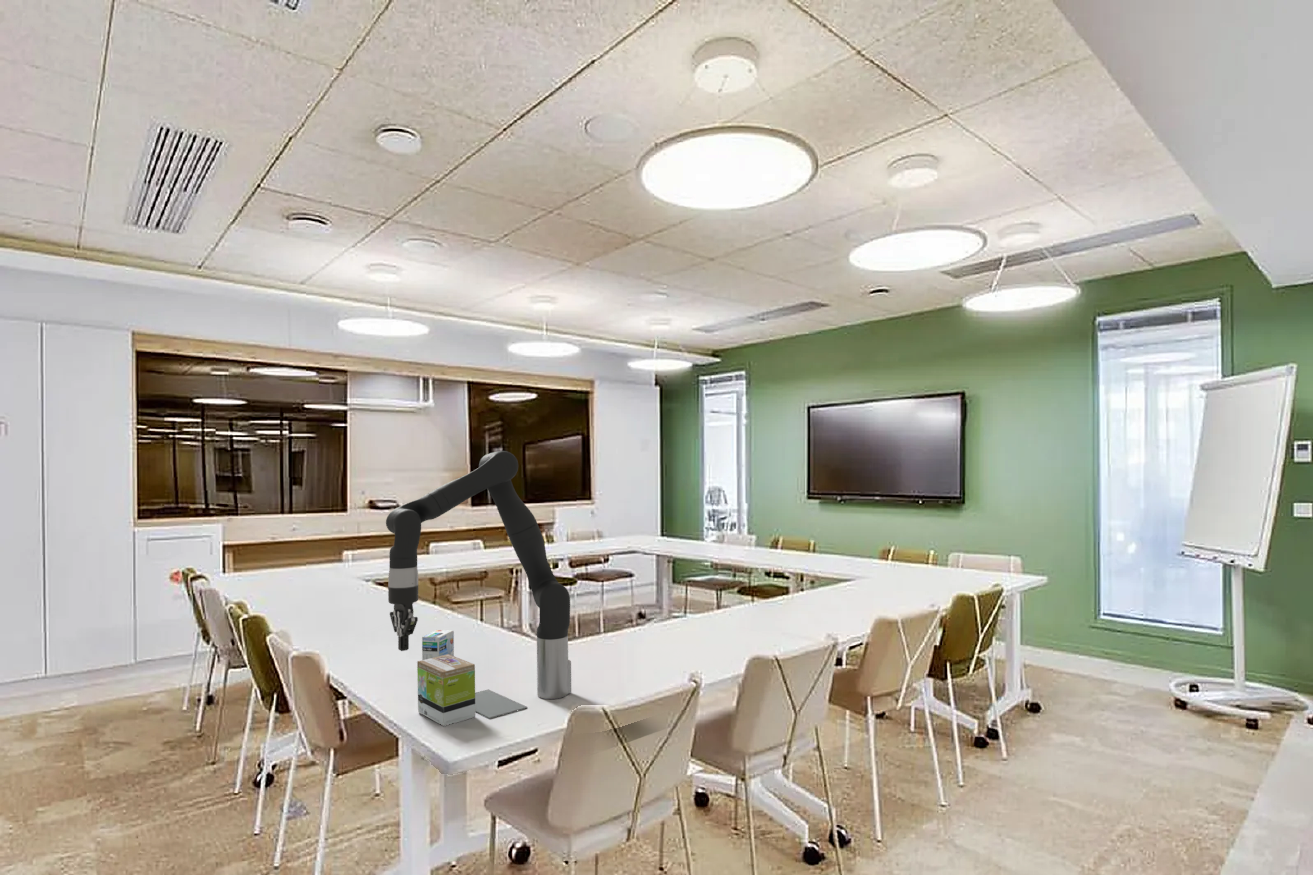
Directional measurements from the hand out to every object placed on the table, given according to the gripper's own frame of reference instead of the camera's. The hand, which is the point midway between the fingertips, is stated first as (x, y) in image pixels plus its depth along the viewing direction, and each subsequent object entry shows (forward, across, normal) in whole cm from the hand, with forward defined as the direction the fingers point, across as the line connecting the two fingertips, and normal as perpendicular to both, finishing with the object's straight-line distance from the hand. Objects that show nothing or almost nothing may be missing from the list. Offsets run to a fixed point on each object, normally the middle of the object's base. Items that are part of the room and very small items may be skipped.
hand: (403, 650), depth 192 cm
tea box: (+20, 0, -12) cm, 24 cm away
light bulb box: (+20, +49, -33) cm, 62 cm away
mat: (+20, 0, -25) cm, 32 cm away
